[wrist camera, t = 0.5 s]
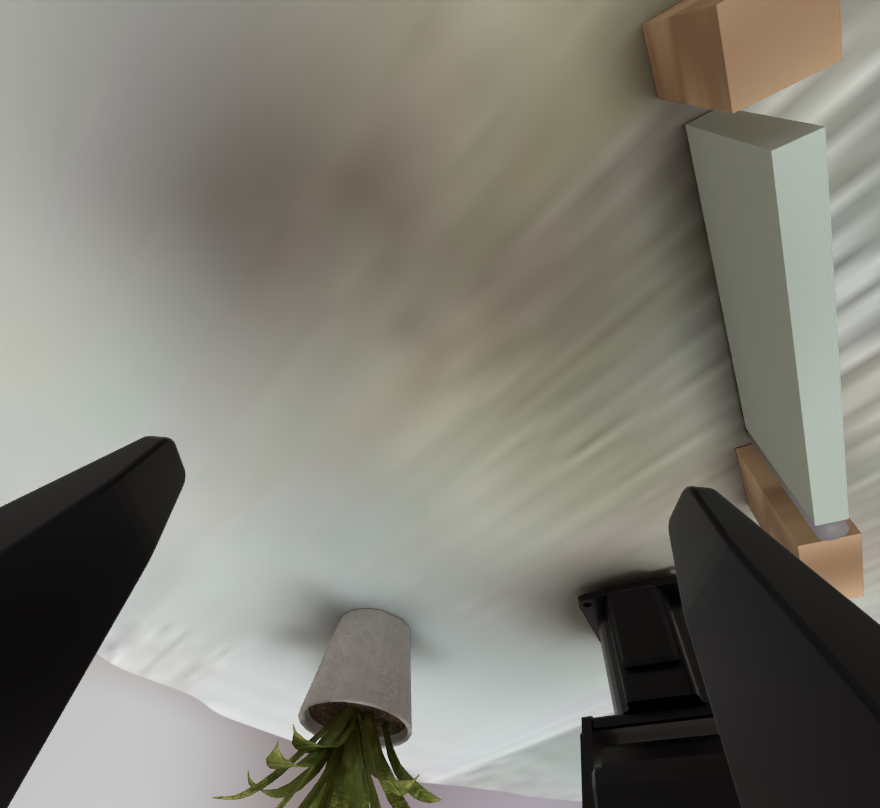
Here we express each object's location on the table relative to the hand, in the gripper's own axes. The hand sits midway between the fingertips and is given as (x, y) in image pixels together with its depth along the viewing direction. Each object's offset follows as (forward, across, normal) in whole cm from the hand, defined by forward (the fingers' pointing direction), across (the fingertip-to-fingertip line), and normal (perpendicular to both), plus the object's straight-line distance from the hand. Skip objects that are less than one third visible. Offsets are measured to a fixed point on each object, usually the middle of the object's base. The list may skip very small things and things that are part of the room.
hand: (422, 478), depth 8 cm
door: (+12, -14, +7) cm, 19 cm away
